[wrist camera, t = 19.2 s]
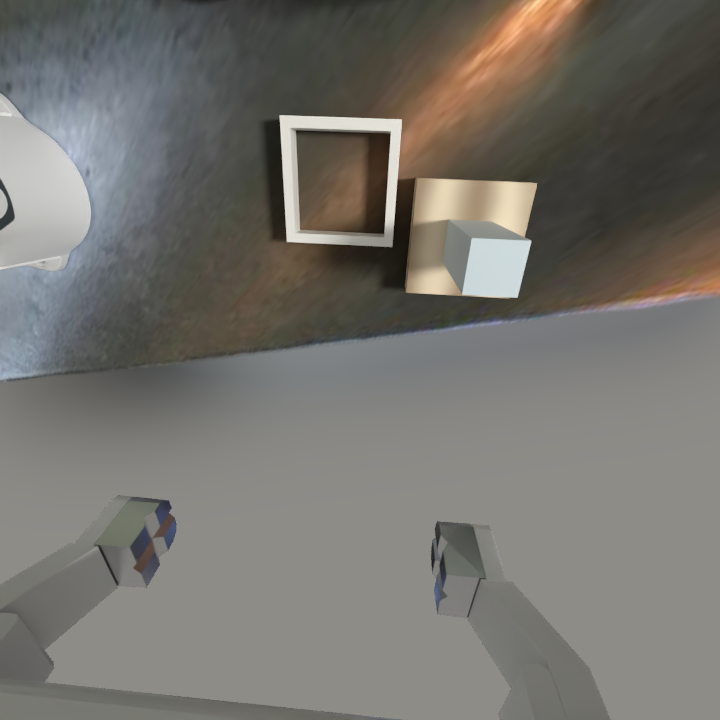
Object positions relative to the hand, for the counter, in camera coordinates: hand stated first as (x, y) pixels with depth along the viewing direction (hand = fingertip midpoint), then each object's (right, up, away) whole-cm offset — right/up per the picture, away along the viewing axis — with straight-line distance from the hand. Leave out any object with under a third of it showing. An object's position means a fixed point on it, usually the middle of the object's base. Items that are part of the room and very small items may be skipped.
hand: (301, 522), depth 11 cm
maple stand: (+14, +19, +31) cm, 39 cm away
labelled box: (+13, +18, +28) cm, 36 cm away
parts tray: (0, +24, +29) cm, 38 cm away
